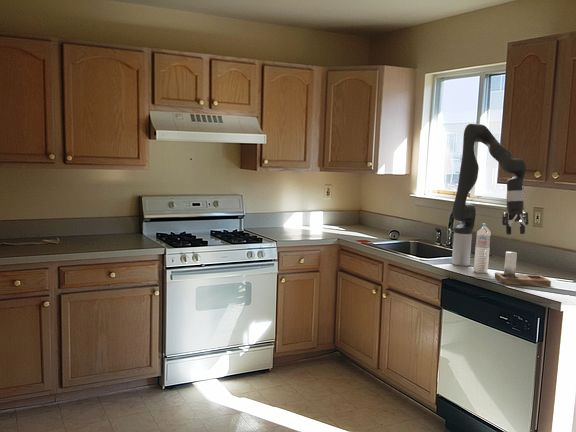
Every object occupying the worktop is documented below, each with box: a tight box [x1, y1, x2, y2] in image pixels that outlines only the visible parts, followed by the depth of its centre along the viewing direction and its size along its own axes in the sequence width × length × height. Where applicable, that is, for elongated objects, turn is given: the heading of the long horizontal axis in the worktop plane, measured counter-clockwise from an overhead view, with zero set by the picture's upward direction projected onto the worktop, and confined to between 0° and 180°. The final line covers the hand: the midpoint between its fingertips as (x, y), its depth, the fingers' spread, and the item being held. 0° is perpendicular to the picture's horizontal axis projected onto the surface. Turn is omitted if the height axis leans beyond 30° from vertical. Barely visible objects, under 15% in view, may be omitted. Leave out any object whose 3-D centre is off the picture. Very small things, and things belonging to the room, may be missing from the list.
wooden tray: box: [494, 272, 552, 287], centre depth 263 cm, size 12×22×3 cm, turn 85°
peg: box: [503, 250, 518, 278], centre depth 263 cm, size 5×5×14 cm
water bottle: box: [473, 223, 492, 275], centre depth 280 cm, size 7×7×25 cm
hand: (515, 234), depth 264 cm, fingers open, 8 cm apart
